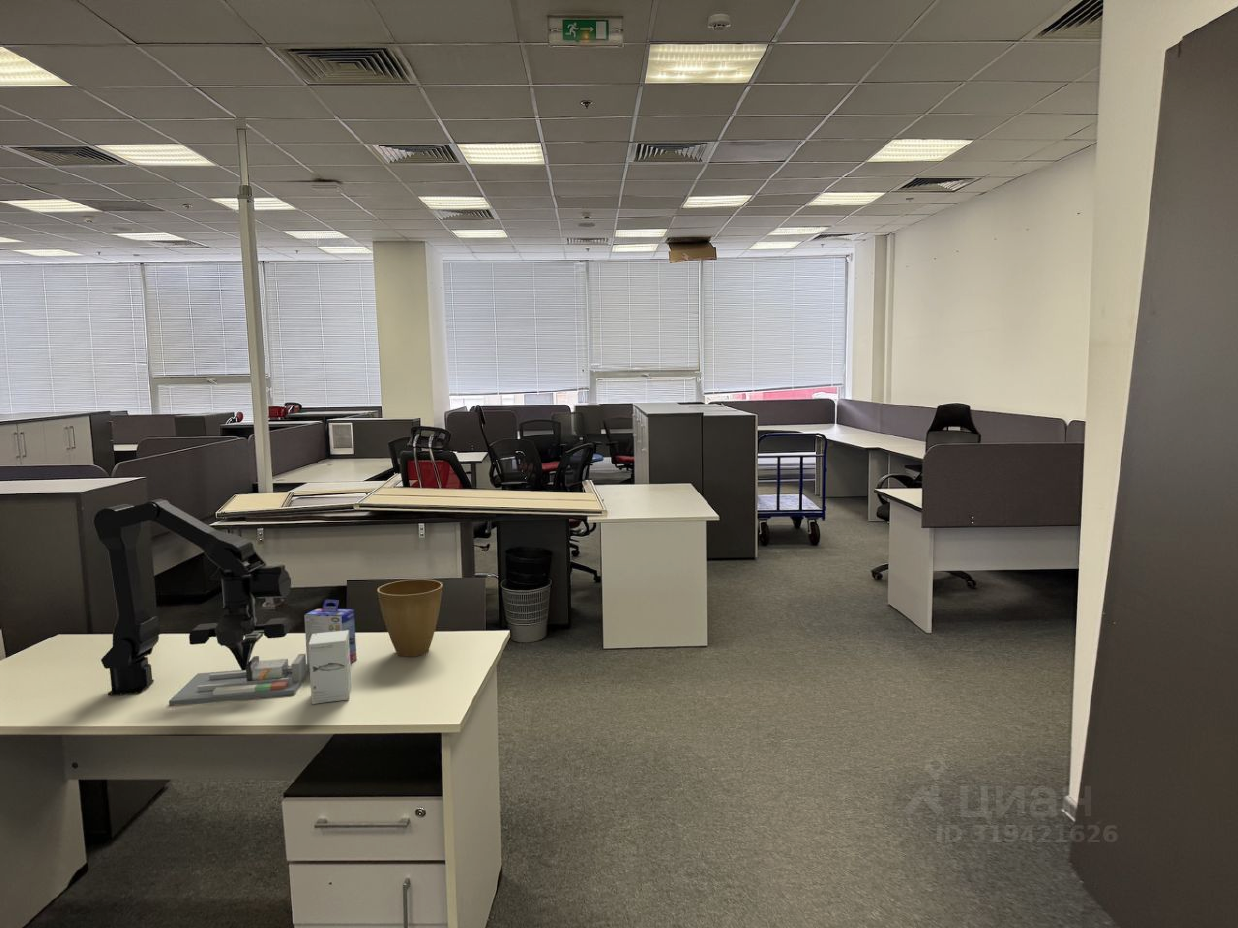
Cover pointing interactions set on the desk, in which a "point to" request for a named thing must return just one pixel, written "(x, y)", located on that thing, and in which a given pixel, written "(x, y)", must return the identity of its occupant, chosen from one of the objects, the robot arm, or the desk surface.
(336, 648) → the supplement box
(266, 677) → the grey block
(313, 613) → the ink cartridge box
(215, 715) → the desk surface
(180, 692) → the board
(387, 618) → the plant pot
